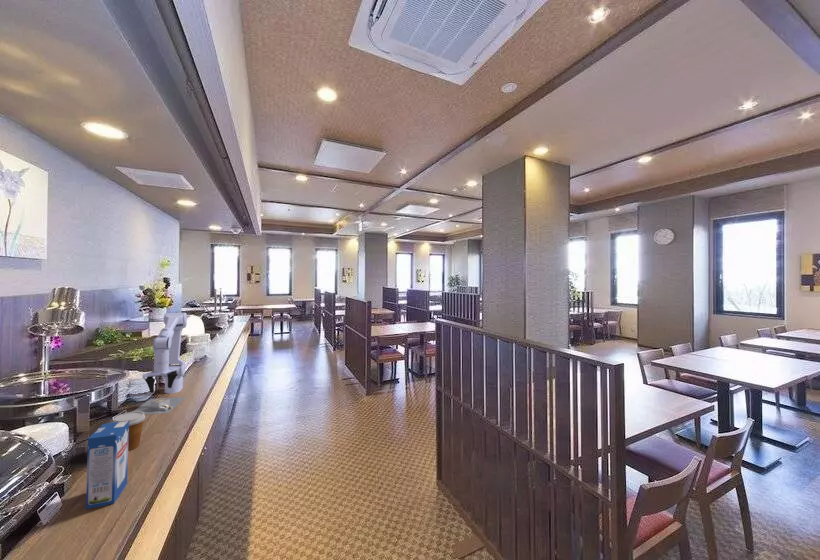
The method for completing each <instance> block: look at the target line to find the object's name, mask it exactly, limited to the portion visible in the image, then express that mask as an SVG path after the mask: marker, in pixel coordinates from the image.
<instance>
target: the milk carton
mask: <svg viewBox="0 0 820 560" xmlns="http://www.w3.org/2000/svg"><path fill="white" fill-rule="evenodd" d="M128 440H129V421H123V422H114V423H112V422H106V423H103V424H101V426H99V427H98V429H96V430H95V431H94V432H93V433H92V434H91V435H90V436H89V437H88V438H87V457H86V458H87V461H86V463H87V464H86V465H87V467H86V492H85V493H86V495H85V509H86V510H89V509H93V508H100V507H105V506H109V504H111V505H114V504H115V503H116V502H115V501H117V500H118V499H119V497H120V496H119V495H121V494H122V493H123V491H124V489H125V488H126V487H127V485H128V468H129V467H128V466H129V465H128V464H129V463H128V462H129V451H128ZM117 498H118V499H117ZM113 503H114V504H113Z"/></svg>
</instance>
